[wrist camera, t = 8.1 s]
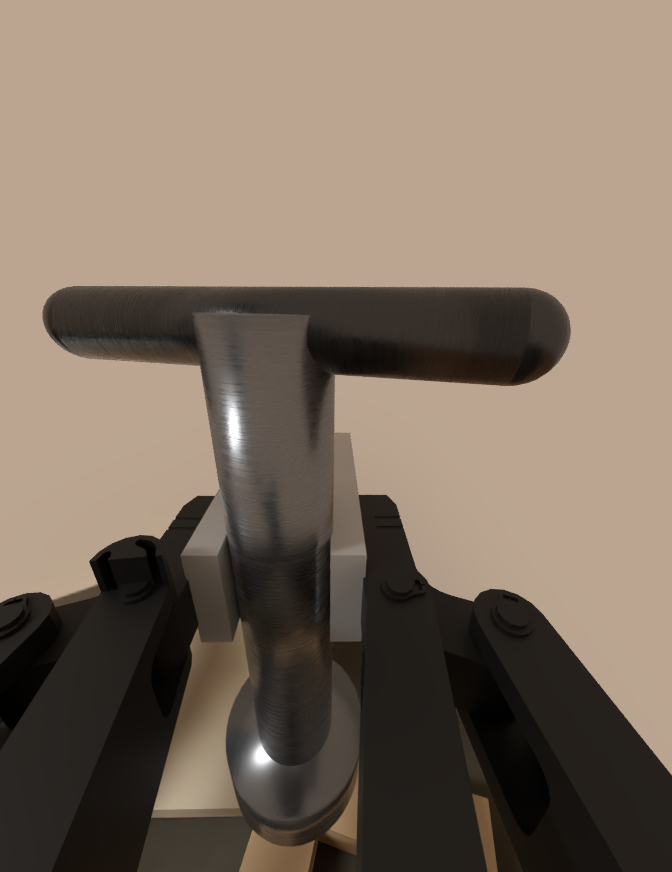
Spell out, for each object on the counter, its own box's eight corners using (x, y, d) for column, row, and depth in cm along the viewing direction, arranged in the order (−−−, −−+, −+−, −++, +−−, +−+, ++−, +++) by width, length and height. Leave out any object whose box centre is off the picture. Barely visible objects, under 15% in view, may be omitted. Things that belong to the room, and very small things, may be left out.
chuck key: (138, 787, 10) (-113, 279, 4) (216, 653, 14) (138, 289, 8) (437, 913, 8) (709, 279, 2) (432, 716, 12) (531, 291, 6)
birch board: (22, 820, 18) (16, 812, 18) (139, 622, 29) (137, 614, 29) (271, 815, 18) (269, 807, 18) (293, 620, 29) (293, 613, 29)
